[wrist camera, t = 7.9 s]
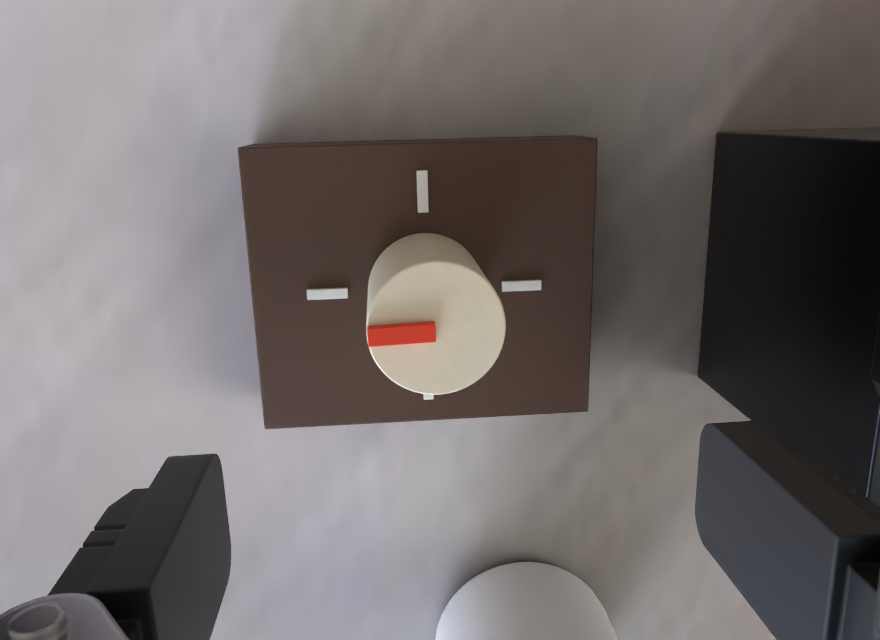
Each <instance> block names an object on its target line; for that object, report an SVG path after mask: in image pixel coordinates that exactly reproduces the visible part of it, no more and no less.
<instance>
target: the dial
mask: <svg viewBox="0 0 880 640" xmlns="http://www.w3.org/2000/svg"><path fill="white" fill-rule="evenodd" d="M505 331H506V321H505V314H504V309H503V306H502V303H501V301H500V298H499V296H498V295H497V293H496V291H495V290H494V288H493V287H492V285H491V284H490V282H489V281H488V279H487V278H486V276H485V275H484V273H483V272H482V270H481V269H480V267H479V266H478V264H477V263H476V261H475V260H474V258H473V257H472V256H471V254H470V253H469V252H468V251H467V250H466V249H465V248H464V247H463V246H462V245H460V244H459V243H458V242H456V241H454V240H453V239H451V238H448V237H446V236H443V235H439V234H433V233H419V234H413V235H409V236H406V237H404V238H401V239H399V240H397V241H396V242H394V243H392V244H391V245H390V246H389V247H387V248H386V249H385V250H384V251H383V252H382V253H381V255H380V256H379V257H378V259H377V260H376V262H375V264H374V266H373V268H372V270H371V273H370V277H369V283H368V298H367V318H366V336H367V342H368V346H369V349H370V352H371V355H372V357H373V359H374V361H375V362H376V364H377V366H378V367H379V368H380V369H381V371H382V372H383V373H384V374H385V375H386V376H387V377H388V378H389V379H390V380H392V381H393V382H395V383H396V384H397V385H399V386H401V387H403V388H405V389H408V390H410V391H413V392H417V393H421V394H429V395H440V394H447V393H452V392H456V391H459V390H461V389H464V388H466V387H468V386H470V385H471V384H473V383H475V382H476V381H477V380H479V379H480V378H481V377H482V376H484V375H485V374H486V373H487V372H488V370H489V369H490V368H491V367H492V366H493V364H494V363H495V361H496V359H497V358H498V356H499V354H500V352H501V349H502V346H503V343H504V338H505Z"/></svg>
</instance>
